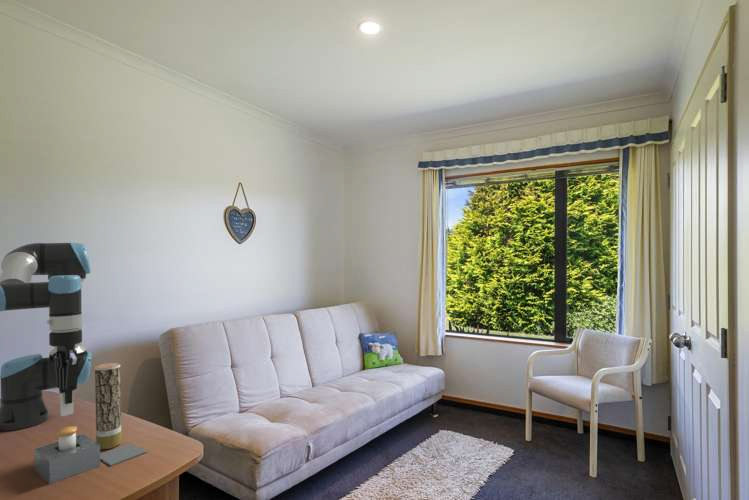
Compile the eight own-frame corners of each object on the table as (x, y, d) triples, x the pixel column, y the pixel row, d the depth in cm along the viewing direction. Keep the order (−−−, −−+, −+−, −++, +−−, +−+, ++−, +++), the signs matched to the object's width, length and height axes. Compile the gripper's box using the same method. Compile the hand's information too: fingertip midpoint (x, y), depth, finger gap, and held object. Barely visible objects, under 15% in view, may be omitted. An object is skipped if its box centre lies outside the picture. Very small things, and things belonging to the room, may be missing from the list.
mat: (96, 456, 128) (96, 455, 128) (131, 444, 136) (131, 443, 136) (110, 466, 122) (110, 464, 122) (146, 452, 130) (146, 451, 130)
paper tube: (109, 451, 131) (108, 369, 131) (90, 449, 133) (89, 368, 133) (126, 441, 138) (125, 363, 138) (108, 440, 139) (107, 362, 139)
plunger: (54, 454, 121) (54, 430, 121) (73, 448, 124) (73, 425, 124) (60, 459, 118) (60, 434, 118) (80, 452, 122) (79, 428, 122)
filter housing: (34, 470, 120) (34, 449, 120) (83, 454, 130) (83, 434, 130) (49, 484, 113) (49, 461, 113) (100, 465, 122) (100, 444, 122)
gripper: (41, 330, 122) (42, 413, 122) (58, 334, 114) (59, 423, 114) (72, 326, 128) (73, 406, 128) (90, 330, 120) (91, 414, 120)
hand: (67, 414), depth 121 cm, fingers closed
